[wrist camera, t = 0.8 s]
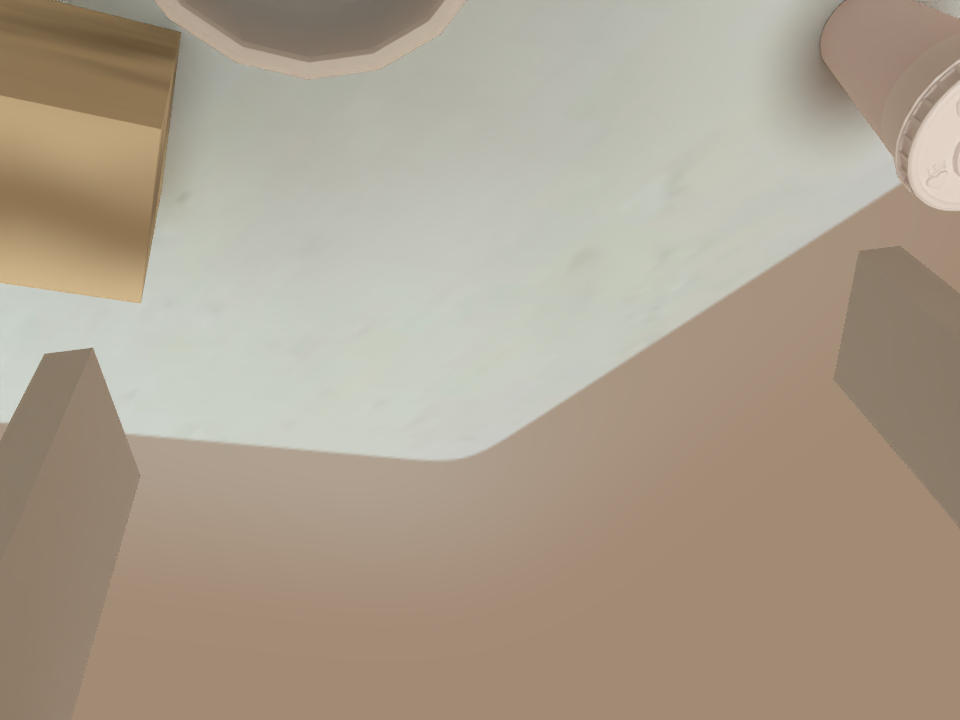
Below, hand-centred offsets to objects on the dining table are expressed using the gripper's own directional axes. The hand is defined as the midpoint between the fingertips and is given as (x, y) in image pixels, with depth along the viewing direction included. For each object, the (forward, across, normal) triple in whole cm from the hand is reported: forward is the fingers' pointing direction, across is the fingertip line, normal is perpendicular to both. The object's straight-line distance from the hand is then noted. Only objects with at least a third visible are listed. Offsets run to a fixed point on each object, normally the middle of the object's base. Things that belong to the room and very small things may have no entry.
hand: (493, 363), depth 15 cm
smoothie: (+25, +20, -2) cm, 32 cm away
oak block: (+23, -13, -1) cm, 27 cm away
